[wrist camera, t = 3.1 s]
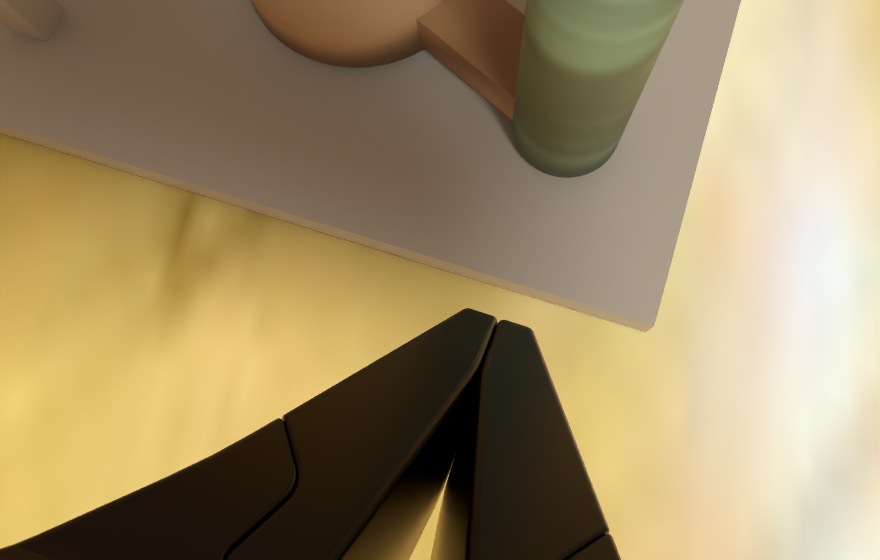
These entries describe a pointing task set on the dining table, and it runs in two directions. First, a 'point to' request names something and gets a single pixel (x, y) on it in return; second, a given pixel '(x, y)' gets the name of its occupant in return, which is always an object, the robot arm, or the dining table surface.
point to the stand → (368, 142)
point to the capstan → (505, 59)
